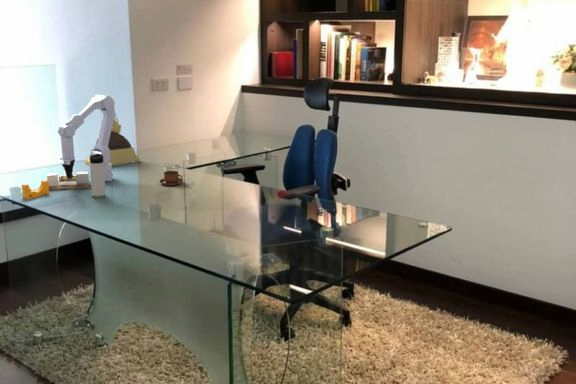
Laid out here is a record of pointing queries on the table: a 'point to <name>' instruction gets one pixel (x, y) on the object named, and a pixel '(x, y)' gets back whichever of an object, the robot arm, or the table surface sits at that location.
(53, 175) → the white square block
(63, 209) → the table surface
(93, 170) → the travel mug
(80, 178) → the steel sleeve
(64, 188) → the walnut board
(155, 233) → the table surface
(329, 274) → the table surface
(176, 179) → the cup and saucer
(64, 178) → the block with brass knob
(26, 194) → the yellow u-shaped block
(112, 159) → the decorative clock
